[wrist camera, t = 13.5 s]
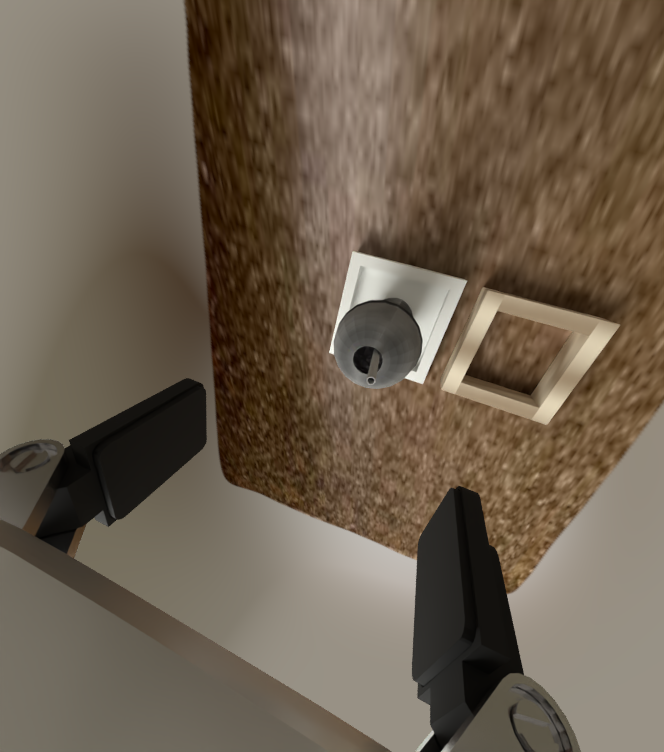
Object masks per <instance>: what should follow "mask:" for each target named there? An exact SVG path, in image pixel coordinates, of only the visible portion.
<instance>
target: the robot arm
mask: <svg viewBox="0 0 664 752" xmlns="http://www.w3.org/2000/svg"><path fill="white" fill-rule="evenodd" d="M206 440H207V438H206V390H205V389H204V387H203V384H201V383H199V382H196V381H194V380H192V379H189V378H186V379H184V380H182V381H180V382H178V383H176V384H174V385H172V386H170V387H169V388H167V389H165V390H163V391H161V392H159V393H157V394H155V395H153V396H151V397H150V398H148V399H146V400H144V401H142V402H140V403H138V404H136V405H134V406H133V407H131V408H129V409H127V410H125V411H123V412H121V413H119V414H118V415H116V416H114V417H112V418H110V419H108V420H106V421H104V422H102V423H101V424H99V425H97V426H95V427H93V428H91V429H89V430H87V431H85V432H83V433H82V434H80V435H78V436H76V437H74V438H72V439H70V440H69V442H70V446H68V447H67V448H64V446H63V444H61V443H60V442H59V441H55V440H51V439H50V440H49V439H43V440H42V439H40V440H34V441H29V442H25V443H22V444H19V445H16V446H14V447H12V448H9V449H7V450H6V451H4V452H3V453H1V454H0V752H391V751H390V750H388V749H387V748H385V747H384V746H382V745H381V744H379V743H377V742H376V741H374V740H373V739H371V738H370V737H368V736H366V735H365V734H363V733H362V732H360V731H359V730H357V729H355V728H354V727H352V726H351V725H349V724H347V723H346V722H344V721H343V720H341V719H340V718H338V717H336V716H335V715H333V714H332V713H330V712H329V711H327V710H325V709H324V708H322V707H321V706H319V705H317V704H316V703H314V702H312V701H311V700H309V699H307V698H306V697H304V696H302V695H301V694H299V693H298V692H296V691H294V690H292V689H291V688H289V687H288V686H286V685H284V684H282V683H281V682H279V681H278V680H276V679H274V678H273V677H271V676H269V675H268V674H266V673H264V672H263V671H261V670H259V669H258V668H256V667H255V666H253V665H251V664H250V663H248V662H246V661H245V660H243V659H241V658H240V657H238V656H236V655H235V654H233V653H232V652H230V651H228V650H226V649H225V648H223V647H221V646H220V645H218V644H217V643H215V642H213V641H212V640H210V639H208V638H207V637H205V636H203V635H202V634H200V633H198V632H197V631H195V630H193V629H191V628H190V627H188V626H187V625H185V624H183V623H181V622H180V621H178V620H176V619H175V618H173V617H171V616H170V615H168V614H166V613H165V612H163V611H161V610H160V609H158V608H156V607H155V606H153V605H151V604H150V603H148V602H146V601H145V600H143V599H141V598H140V597H138V596H136V595H135V594H133V593H131V592H129V591H128V590H126V589H125V588H123V587H121V586H119V585H118V584H116V583H114V582H113V581H111V580H109V579H108V578H106V577H104V576H103V575H101V574H99V573H97V572H96V571H94V570H92V569H91V568H89V567H87V566H86V565H84V564H82V563H80V562H79V561H77V560H75V559H74V557H75V555H76V552H77V549H78V546H79V544H80V541H81V538H82V535H83V532H84V530H85V527H86V524H87V523H88V522H89V521H90V520H91V519H93V518H94V517H95V519H96V520H97V521H99V522H100V523H102V524H104V525H106V526H108V527H109V526H110V525H111V524H112V523H113V522H115V521H116V520H117V519H122V518H124V517H125V516H126V515H128V513H130V512H131V511H132V510H133V509H134V508H135V507H137V506H138V505H139V504H140V503H141V502H142V501H144V500H145V499H146V498H147V497H148V496H149V495H150V494H151V493H152V492H154V491H155V490H156V489H157V488H158V487H160V486H161V485H162V484H163V483H164V482H165V481H166V480H168V479H169V478H170V477H171V476H172V475H173V474H174V473H175V472H177V471H178V470H179V469H180V468H181V467H182V466H184V464H186V463H187V462H188V461H189V460H190V459H191V458H193V457H194V456H195V455H196V454H197V453H198V452H200V450H202V449H203V447H204V446H205V444H206ZM412 676H413V680H414V681H416V682H418V699H420V700H422V701H424V702H426V703H427V704H429V705H430V725H431V727H432V729H433V730H432V731H431V732H430V734H429V735H428V736H427V737H426V739H425V740H424V741H423V742H422V743H421V745H420V746H419V747H418V748H417V750H416V751H415V752H581V750H580V748H579V745H578V742H577V739H576V736H575V733H574V732H573V730H572V728H571V726H570V724H569V722H568V720H567V718H566V716H565V715H564V713H563V712H562V710H561V709H560V708H559V706H558V704H557V703H556V702H555V700H554V699H553V698H552V697H551V696H550V695H549V694H548V692H546V690H545V689H544V688H543V687H542V686H541V685H539V684H538V683H536V682H535V681H534V680H533V679H531V678H530V677H527V676H524V673H523V668H522V663H521V659H520V654H519V649H518V645H517V640H516V635H515V631H514V626H513V621H512V617H511V612H510V607H509V603H508V598H507V594H506V589H505V584H504V580H503V575H502V570H501V566H500V561H499V557H498V554H497V551H496V550H495V548H494V547H493V546H491V545H489V542H488V537H487V532H486V526H485V521H484V516H483V511H482V506H481V500H480V496H479V494H478V493H476V492H474V491H471V490H469V489H466V488H464V487H461V486H458V487H457V488H456V489H454V488H450V489H449V491H448V492H447V494H446V496H445V497H444V499H443V501H442V502H441V504H440V505H439V507H438V509H437V510H436V512H435V513H434V515H433V517H432V518H431V520H430V521H429V523H428V525H427V526H426V528H425V529H424V531H423V533H422V534H421V536H420V539H419V542H418V554H417V576H416V596H415V618H414V638H413V659H412Z"/></svg>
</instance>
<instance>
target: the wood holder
mask: <svg viewBox="0 0 664 752" xmlns="http://www.w3.org/2000/svg"><path fill="white" fill-rule="evenodd" d="M497 311H500V312H504V313H507V314H511V315H515V316H518V317H522V318H526V319H529V320H533V321H536V322H540V323H544V324H547V325H551V326H555V327H558V328H562V329H566V330H569V331H573V332H572V333H571V335H570V336H569V338H568V340H567V341H566V343H565V344H564V346H563V347H562V349H561V350H560V352H559V353H558V355H557V356H556V358H555V359H554V361H553V362H552V364H551V365H550V367H549V368H548V370H547V371H546V373H545V374H544V376H543V377H542V379H541V380H540V382H539V384H538V385H537V387H536V388H535V390H534V391H533V393H532V394H531V396H530V395H527V394H524V393H521V392H518V391H515V390H512V389H508V388H505V387H502V386H499V385H496V384H493V383H490V382H487V381H483V380H480V379H477V378H474V377H471V376H468V375H465V373H466V371H467V369H468V367H469V365H470V363H471V361H472V359H473V357H474V355H475V353H476V351H477V349H478V348H479V346H480V344H481V342H482V340H483V338H484V336H485V334H486V332H487V330H488V328H489V326H490V324H491V322H492V320H493V318H494V316H495V314H496V312H497ZM619 326H620V324H617V323H614V322H612V321H609V320H606V319H603V318H600V317H596V316H593V315H589V314H585V313H581V312H577V311H573V310H569V309H566V308H562V307H558V306H554V305H550V304H546V303H543V302H539V301H535V300H531V299H527V298H523V297H520V296H516V295H512V294H508V293H504V292H500V291H496V290H493V289H489V288H485V287H483V288H482V290H481V292H480V294H479V296H478V299H477V301H476V303H475V305H474V307H473V309H472V312H471V314H470V316H469V318H468V320H467V322H466V325H465V327H464V329H463V331H462V333H461V335H460V338H459V340H458V342H457V344H456V346H455V348H454V351H453V353H452V355H451V357H450V359H449V361H448V364H447V366H446V368H445V370H444V372H443V375H442V377H441V379H440V382H441V390H444V391H447V392H450V393H453V394H456V395H459V396H462V397H465V398H468V399H471V400H474V401H477V402H480V403H483V404H486V405H489V406H492V407H495V408H498V409H501V410H504V411H507V412H510V413H513V414H516V415H519V416H522V417H525V418H528V419H531V420H534V421H537V422H540V423H543V424H546V425H547V424H548V423H549V421H550V420H551V419H552V417H553V416H554V414H555V413H556V412H557V410H558V409H559V408H560V406H561V405H562V404H563V402H564V401H565V400H566V398H567V397H568V395H569V394H570V393H571V391H572V390H573V389H574V387H575V386H576V385H577V383H578V382H579V381H580V379H581V378H582V376H583V375H584V374H585V372H586V371H587V370H588V368H589V367H590V366H591V364H592V363H593V362H594V360H595V359H596V357H597V356H598V355H599V353H600V352H601V351H602V349H603V348H604V347H605V345H606V344H607V342H608V341H609V340H610V338H611V337H612V336H613V334H614V333H615V332H616V330H617V329H618V328H619Z"/></svg>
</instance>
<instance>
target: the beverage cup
mask: <svg viewBox="0 0 664 752" xmlns="http://www.w3.org/2000/svg"><path fill="white" fill-rule="evenodd" d="M422 342H423V339H422V335H421V331H420V327H419V325H418V323H417V322H416V320H415V319H414V317H413V314H412V310H411V308H410V307H409V305H408V304H407V303H406V302H405V301H403V300H402V299H399V298H387V299H384V300H369V301H366V302H363V303H360V304H357V305H356V306H355V307H353V308H352V309H351V310H349V311H348V312H347V313H346V314H345V315H344V317H343V318H342V320H341V321H340V323H339V325H338V328H337V332H336V335H335V339H334V356H335V359H336V361H337V364H338V367H339V368H340V370H341V371H342V372H343V374H344V375H345V376H346V377H347V378H348V379H350V380H351V381H352V382H354V383H355V384H358V385H360V386H363V387H365V388H374V389H379V388H385V387H390V386H392V385H394V384H396V383H398V382H400V381H402V380H403V379H404V378H405V377H406V376H407V375H408V374H409V373H410V372H411V370H412V369H413V368H414V367H415V366H416V364H417V362H418V360H419V358H420V356H421V352H422Z"/></svg>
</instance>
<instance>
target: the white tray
mask: <svg viewBox="0 0 664 752" xmlns="http://www.w3.org/2000/svg"><path fill="white" fill-rule="evenodd" d="M466 282H467V281H466V280H465V279H462V278H459V277H455V276H451V275H447V274H443V273H439V272H435V271H431V270H428V269H424V268H420V267H416V266H412V265H408V264H404V263H400V262H397V261H393V260H389V259H385V258H381V257H377V256H373V255H369V254H366V253H362V252H358V251H353V252H352V257H351V261H350V265H349V269H348V274H347V278H346V282H345V287H344V291H343V295H342V300H341V304H340V308H339V313H338V317H337V321H336V326H335V330H334V334H333V339H332V343H331V347H330V352H329V353H332V354H334V339H335V335H336V332H337V328H338V325H339V323H340V321H341V320H342V318H343V317H344V315H345V314H346V313H347V312H348V311H349V310H351V309H352V308H353V307H355V306H356V305H357V304H360V303H363V302H366V301H369V300H384V299H387V298H399V299H402V300H403V301H405V302H406V303H407V304H408V305H409V307H410V308H411V310H412V314H413V317H414V319H415V320H416V322H417V323H418V325H419V327H420V331H421V335H422V339H423V342H422V352H421V356H420V358H419V360H418V362H417V364H416V366H415V367H414V368H413V369H412V370H411V372H410V373H409V374H408V375H407V376H406V377H405V378H406V379H409V380H412V381H415V382H418V383H421V384H423V382H424V380H425V378H426V375H427V373H428V371H429V368H430V366H431V364H432V361H433V359H434V357H435V354H436V352H437V350H438V347H439V345H440V343H441V340H442V338H443V336H444V333H445V331H446V329H447V326H448V324H449V322H450V319H451V317H452V315H453V313H454V310H455V308H456V306H457V303H458V301H459V299H460V296H461V294H462V292H463V289H464V287H465V285H466Z"/></svg>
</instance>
